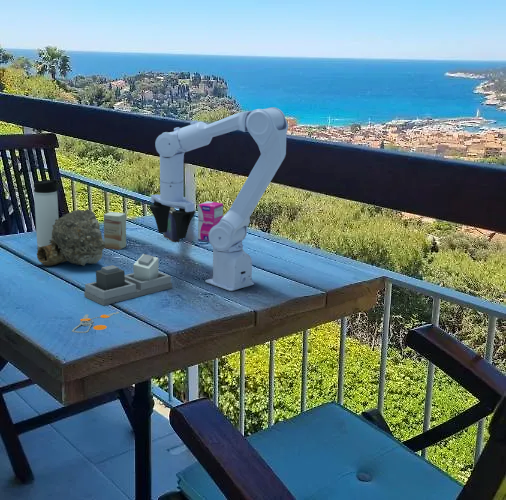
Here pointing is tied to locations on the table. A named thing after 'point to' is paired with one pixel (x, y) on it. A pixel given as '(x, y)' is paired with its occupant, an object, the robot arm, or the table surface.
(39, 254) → the grey brown rough lump
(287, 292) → the table surface
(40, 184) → the travel mug
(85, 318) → the key chain
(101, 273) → the twin plug
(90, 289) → the socket strip
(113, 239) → the skincare box
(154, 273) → the grey plug
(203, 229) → the supplement box
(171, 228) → the flask
